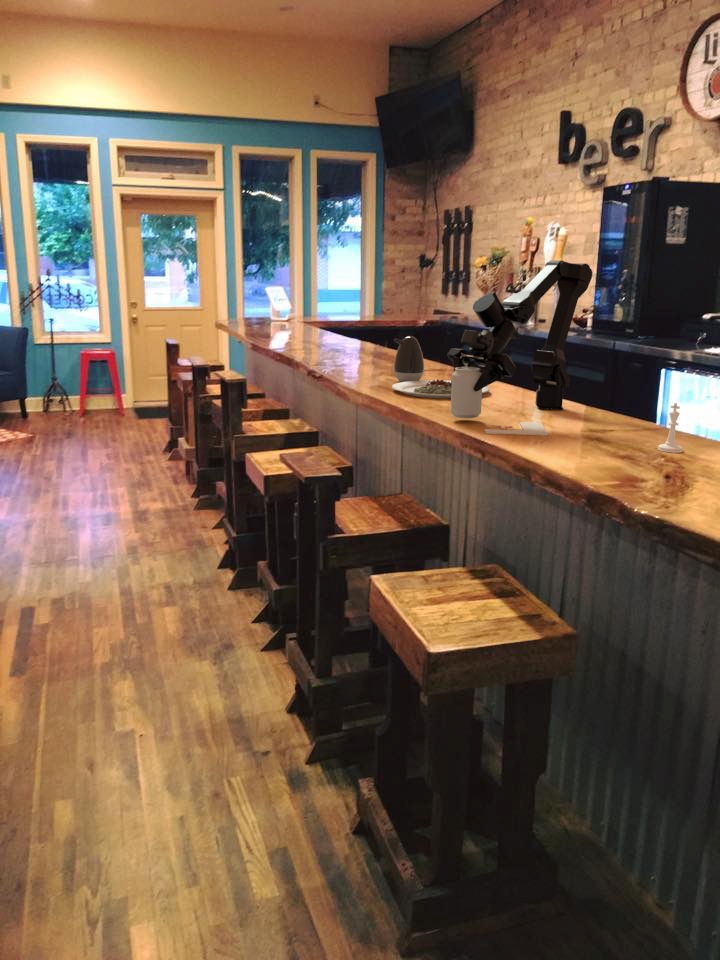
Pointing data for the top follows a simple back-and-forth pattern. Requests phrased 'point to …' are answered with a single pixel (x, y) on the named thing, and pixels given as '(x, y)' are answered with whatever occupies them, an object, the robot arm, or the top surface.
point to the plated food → (428, 388)
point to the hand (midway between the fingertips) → (462, 388)
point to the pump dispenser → (408, 360)
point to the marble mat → (527, 428)
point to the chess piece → (672, 434)
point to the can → (465, 393)
